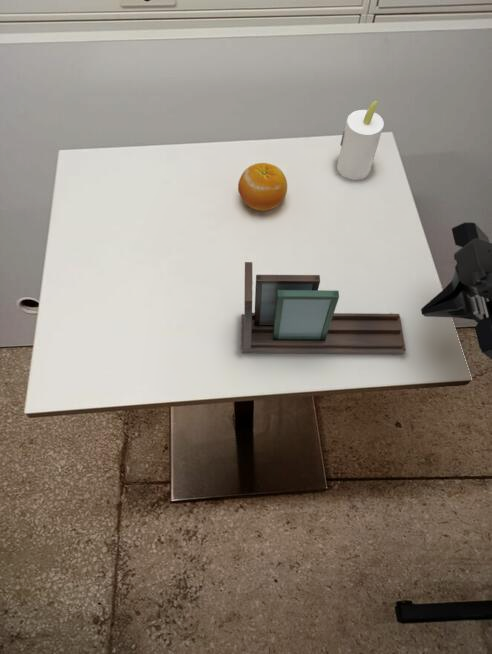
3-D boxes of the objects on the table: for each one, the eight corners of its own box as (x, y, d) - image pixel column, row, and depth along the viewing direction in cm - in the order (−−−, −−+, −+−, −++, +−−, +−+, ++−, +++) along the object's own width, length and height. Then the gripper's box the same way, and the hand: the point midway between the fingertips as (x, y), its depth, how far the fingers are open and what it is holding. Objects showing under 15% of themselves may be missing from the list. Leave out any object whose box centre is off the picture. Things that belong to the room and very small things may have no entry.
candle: (338, 153, 98) (354, 83, 84) (372, 159, 97) (392, 90, 84) (333, 176, 95) (348, 108, 81) (367, 182, 94) (388, 115, 81)
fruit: (299, 173, 90) (277, 151, 84) (288, 218, 89) (265, 199, 83) (260, 175, 95) (237, 154, 89) (250, 218, 94) (225, 200, 88)
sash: (324, 335, 77) (338, 290, 65) (325, 341, 76) (339, 296, 65) (272, 335, 77) (277, 289, 65) (272, 340, 76) (277, 296, 65)
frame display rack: (397, 320, 80) (429, 263, 66) (402, 354, 77) (437, 302, 64) (241, 318, 80) (241, 261, 66) (241, 352, 77) (240, 300, 64)
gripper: (498, 174, 59) (383, 233, 69) (541, 311, 50) (402, 356, 60) (532, 218, 66) (422, 266, 76) (574, 345, 57) (444, 381, 67)
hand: (422, 312), depth 70 cm, fingers closed
